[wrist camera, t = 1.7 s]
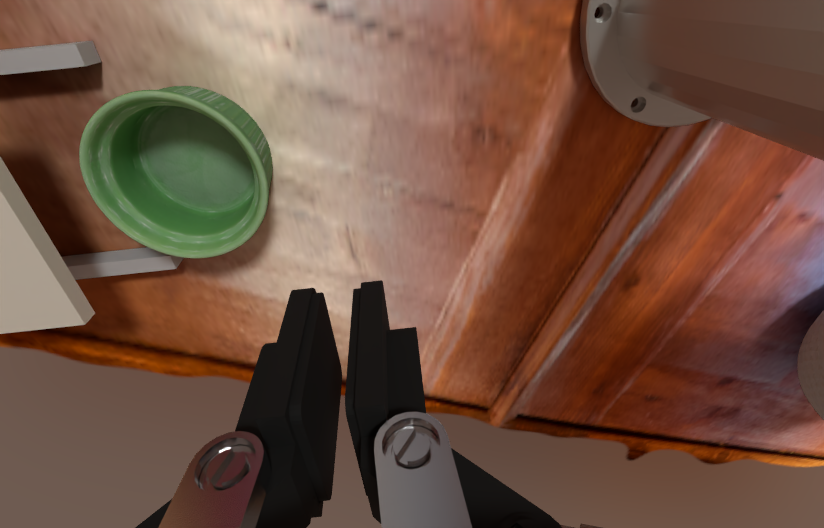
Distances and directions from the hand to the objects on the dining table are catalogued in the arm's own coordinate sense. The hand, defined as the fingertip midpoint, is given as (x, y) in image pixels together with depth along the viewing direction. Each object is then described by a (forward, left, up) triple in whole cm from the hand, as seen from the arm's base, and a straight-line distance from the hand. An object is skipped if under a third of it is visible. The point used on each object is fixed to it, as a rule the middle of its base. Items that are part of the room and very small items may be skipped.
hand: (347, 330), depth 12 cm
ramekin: (+10, 0, -17) cm, 20 cm away
